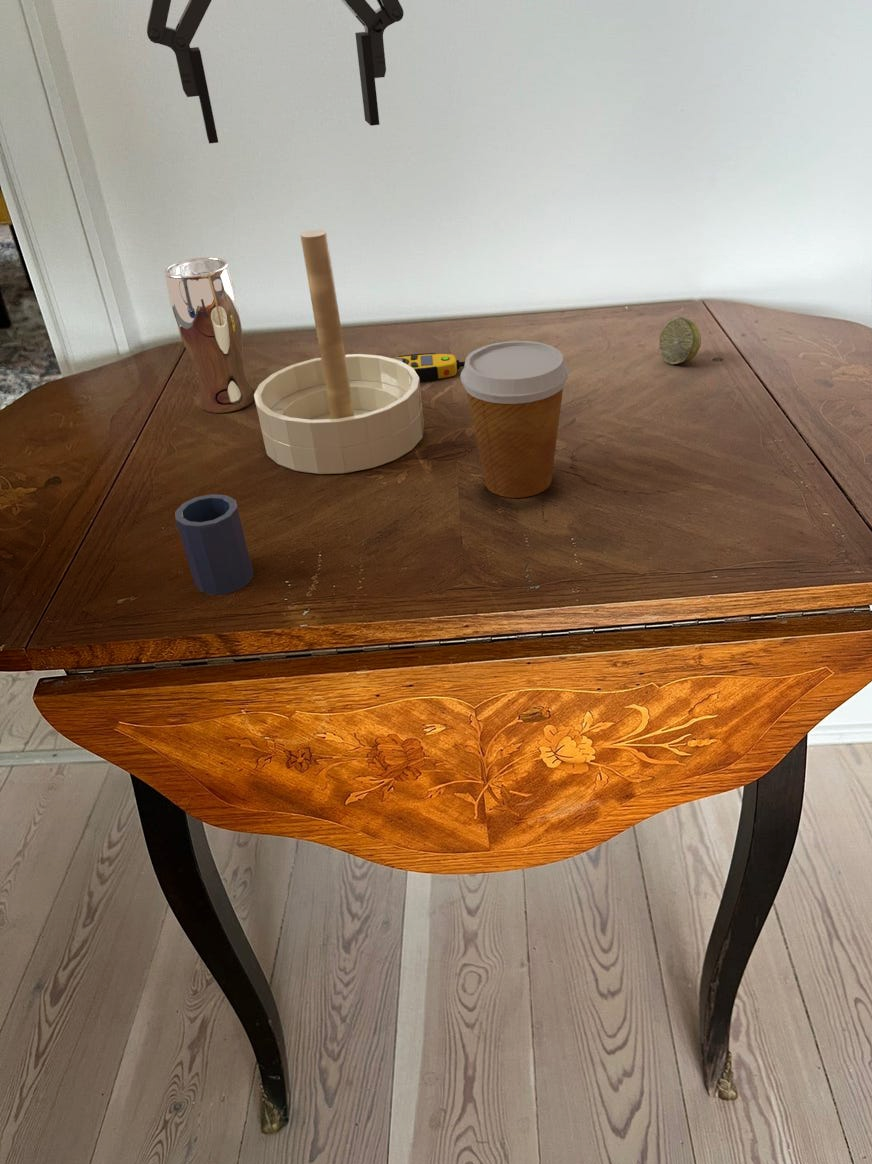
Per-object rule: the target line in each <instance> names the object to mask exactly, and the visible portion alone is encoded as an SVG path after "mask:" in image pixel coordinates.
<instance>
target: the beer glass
mask: <svg viewBox="0 0 872 1164" xmlns="http://www.w3.org/2000/svg"><path fill="white" fill-rule="evenodd" d="M163 273H164V277H165V283H166V289H167V295H168V299H169V304H170V309H171V312H172V315H173V319H174V322H175V326H176V329H177V331H178V334H179V336H180V338H181V340H182V343H183V345H184V347H185V350H186V352H187V354H188V356H189V358H190V361H191V363H192V365H193V368H194V370H195V373H196V377H197V381H198V388H199V403H200V404H199V405H200V407H201V408H202V409H203V410H204V411H206V412H208V413H212V414H224V413H225V414H226V413H231V412H233V413H234V412H236V411H240V410H242V409H245V408H247V407H248V406H250V405H251V404H252V403H253V402H255V399H254V393H255V392H254V390H253V389H252V387H251V384H250V382H249V379H248V376H247V372H246V369H245V362H244V352H243V350H244V349H243V328H242V327H243V326H242V315H241V310H240V303H239V299H238V295H237V290H236V287H235V285H234V281H233V278H232V277H233V276H232V274H231V271H230V268H229V263H228V261H227V260H226V259H224V258H222V257H221V258H220V257H214V256H204V257H203V256H202V257H194V258H189V259H188V258H187V259H183V260H179V261H176V262H174V263H172V264H170V265H168V266H166V267H165V269H164V270H163Z"/></svg>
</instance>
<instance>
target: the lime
mask: <svg viewBox="0 0 872 1164" xmlns="http://www.w3.org/2000/svg"><path fill="white" fill-rule="evenodd" d="M658 340H659V343H658V350H659V354H660V356H661V358H662V360H663V361H664V362H666V363H668V364H671V365H681V364H684V363H687V362H689V361H692V359H694V358H695V356H696V355H698V353H699V350H700V348H701V346H702V335H701V332H700V329H699V327H698V325H697V324H696V323H695V322H694V321H692V320H691V319H689V318H687V317H684V316H678V317H675V318H673V319H670V320H669V321H668V322H667V323H666V324H665V326H664V327H663V329H662V330H661V332H660V334H659V339H658Z"/></svg>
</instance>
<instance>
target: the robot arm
mask: <svg viewBox="0 0 872 1164" xmlns="http://www.w3.org/2000/svg"><path fill="white" fill-rule="evenodd" d="M340 1H341V2H342V3H343V4H344V5H345V6H346V8H347V9H348V10H349V11H350V12H351V14H352V15H353V16H354V17H355V18H356V19H357V21H358V22H359V23H360V24H361V25H362V26H363V28H364V31H360V32H358V31H357V32H355V33H354V35H355V43H356V52H357V61H358V71H359V79H360V87H361V97H362V105H363V107H362V108H363V115H364V121H365V122H366V123H367V124H368V125H369V126H371V127H372V126H379V125H380V116H379V106H378V105H379V104H378V96H377V86H376V79H379V78H385V77H386V72H387V66H386V54H385V53H386V52H385V44H384V32H385V30H386V29H387V28H388V27H389V26H391V25H393V24H395V23H397V22H400V21H401V20H402V19H403V18H404V9H403V6H402V5H401V3H400V0H376V2H377V4H378V6H379V8H376V9H374V8H372V6H371V5H370V3H368V2H367V0H340ZM211 2H212V0H188V1H187V4H186V6H185V8H184V10H183V12H182V14H181V16H180V18H179V20H178V22H177V24H176V27H175V28H173V27H170V26H167V23H168V18H169V13H170V8H171V3H172V0H152V1H151V5H150V11H149V16H148V21H147V26H146V35H147V38H148V39H149V41H150V42H152V43H154V44H158V45H162V46H165V47H168V48H170V49H171V50H172V51H173V53H174V54H175V59H176V63H177V68H178V72H179V77H180V81H181V87H182V91H183V92H184V94H185V96H186V97H187V98H193V97H198V99H199V104H200V108H201V109H200V110H201V113H202V119H203V122H204V124H203V125H204V128H205V133H206V137H207V141H208V144H210V145H211V144H217V143H218V144H219V138H218V133H217V127H216V123H215V118H214V114H213V113H214V112H213V108H212V103H211V98H210V93H209V87H208V82H207V77H206V72H205V68H204V67H205V66H204V62H203V58H202V53H201V49H200V47H199V46H194V47H191V43H192V41H193V39H194V37H195V35H196V33H197V31H198V30H199V29H198V28H199V27H200V24H201V23H202V21H203V19H204V17H205V15H206V13H207V11H208V8H209V7H210V4H211Z"/></svg>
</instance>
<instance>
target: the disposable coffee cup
mask: <svg viewBox="0 0 872 1164" xmlns="http://www.w3.org/2000/svg"><path fill="white" fill-rule="evenodd" d="M464 362H465V365H464V367H463V369H462V370H461V372H460V382H461V384H462V385H463V387H464V390H465V392H467V398H468V403H469V409H470V413H471V418H472V423H473V427H474V433H475V438H476V443H477V447H478V453H479V458H480V463H481V468H482V474H483V479H484V485H485V486H486V488H487V489H488V491H490V492H491V493H492V494H495V495H497V496H501V497H505V498H515V499H517V498H528V497H532V496H535V495H538V494H541V493H542V492H544V491H546V490H547V489H548V488H550V486H551V484H552V480H553V479H552V478H553V470H554V462H555V453H556V447H557V440H558V439H557V438H558V430H559V424H560V423H559V422H560V416H561V407H562V402H563V401H562V400H563V392H564V391H563V390H564V388H565V386H566V382H567V381H568V379H569V374H570V370H569V367H568V366H567V364H566V362H565V358H564V355H563V353H562V352H561V351H560V349H558V348H556V347H555V346H553V345H550V344H547V343H544V342H538V341H531V340H507V341H506V340H505V341H500V342H495V343H491V344H488V345H484V346H483V345H482V346H481V347H478V348H476V349H475V350H473V351H471V352H470V353H468V355H467V356H466V358H465V360H464Z"/></svg>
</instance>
